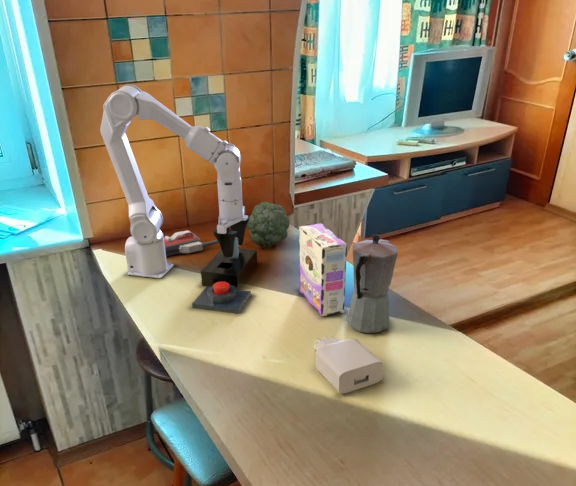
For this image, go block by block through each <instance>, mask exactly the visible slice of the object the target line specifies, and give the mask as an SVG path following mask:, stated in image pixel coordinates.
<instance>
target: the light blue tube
mask: <svg viewBox="0 0 576 486" xmlns="http://www.w3.org/2000/svg"><path fill="white" fill-rule="evenodd" d="M230 258H237V259H238V258H239V245H238V238H237V237H235V241H234V251H233V256H232V257H230Z"/></svg>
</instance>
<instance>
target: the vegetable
mask: <svg viewBox="0 0 576 486" xmlns="http://www.w3.org/2000/svg"><path fill="white" fill-rule="evenodd" d="M248 216H249V217H250V219H249V221H248V224H247V226H246V229H247V230H248V231H249V237H250V241H251V242H252V243H253V244H255V245H257V246H258V247H260V248H262V249H264V248H267V247H268V246H275V245H278V244H279V242H283V241H284V240H285V239H286V238H287V237H288V229H289V227H290V219H289V217H288V216H287V214H286V210H285V208H284V207H283V206H282V205H280V204H275V203H269V202H267V201H261V202H260V203H258V204H256V205H254V207H253V209H252V211H251V214H250V215H248Z"/></svg>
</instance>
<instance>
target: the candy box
mask: <svg viewBox="0 0 576 486" xmlns="http://www.w3.org/2000/svg"><path fill="white" fill-rule="evenodd" d="M298 251H299V252H298V255H299V256H298V257H299V260H298V261H299V262H298V263H299V264H298V265H299V292H300V293H301V295H302V296H303V297H304V298H305V299H306V300H307V302H309V304H310V305H311V306H312V307H313V308H314V309H315V311H316V312H317V313H318V314H319V315H320V317H325V316H326V317H327V316H331V315H336V314H341V313H345V302H346V301H345V300H346V299H345V298H346V297H345V296H346V277H347V275H346V274H347V273H346V272H347V256H348V255H347V252H348V244H347V243H346V242H345V241H343V240H342V239H341V238H340V237H339V236H337V235H336V234H335V233H334V232H333V231H331V230H330V229H329V228H328V227H326V226H325V225H324V224H323V223H314V224H306V225H301V226H299V227H298Z"/></svg>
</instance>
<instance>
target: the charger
mask: <svg viewBox="0 0 576 486" xmlns="http://www.w3.org/2000/svg"><path fill="white" fill-rule="evenodd" d="M315 340H316V343H315V344H314V345H313V348H314V350H315V358H314V359H315V361H314V362H315V363H314V364H315V366H314V367H315V369H316V370H317V371H318V372H319V373H320V374H321V375H322V376H323V377H324V378H325V379H326V381H328V383H329V384H330V385H331V386H332V387H333V388H334V389H335V390H336V391H337V392H338V393H339V394H347V393H350V392H351V393H352V392H355V391H356V390H360V389H362V388H366V387H369V386H372V385H376V384H377V383H380V381H382V379H383V375H384V362H383V361H382V360H381V359H380V358H379V357H377V356H376V355H375V354H374V353H373V352H372V351H370V350H369V349H368V348H367V347H366V346H365V345H364V344H363V343H362V342H361V341H360V340H358V339H357V338H346V339H343V340H339V338H336V337H332V336H330V337H327V336H326V335H324V336H323V339H320V338H318V337H317V338H316V339H315Z"/></svg>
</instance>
